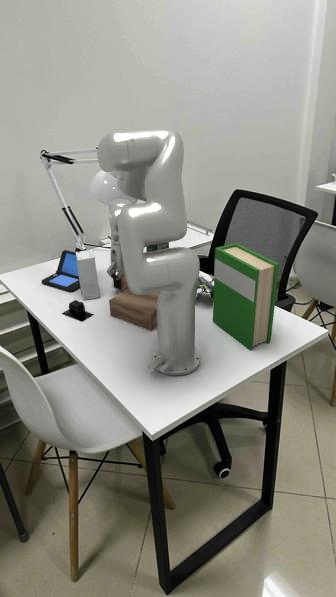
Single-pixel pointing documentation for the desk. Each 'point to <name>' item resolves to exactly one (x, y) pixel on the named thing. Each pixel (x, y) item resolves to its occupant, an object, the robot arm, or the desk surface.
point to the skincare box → (87, 274)
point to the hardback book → (244, 294)
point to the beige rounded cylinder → (123, 282)
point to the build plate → (77, 311)
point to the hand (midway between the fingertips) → (126, 283)
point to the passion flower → (205, 286)
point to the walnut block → (135, 308)
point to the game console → (65, 273)
